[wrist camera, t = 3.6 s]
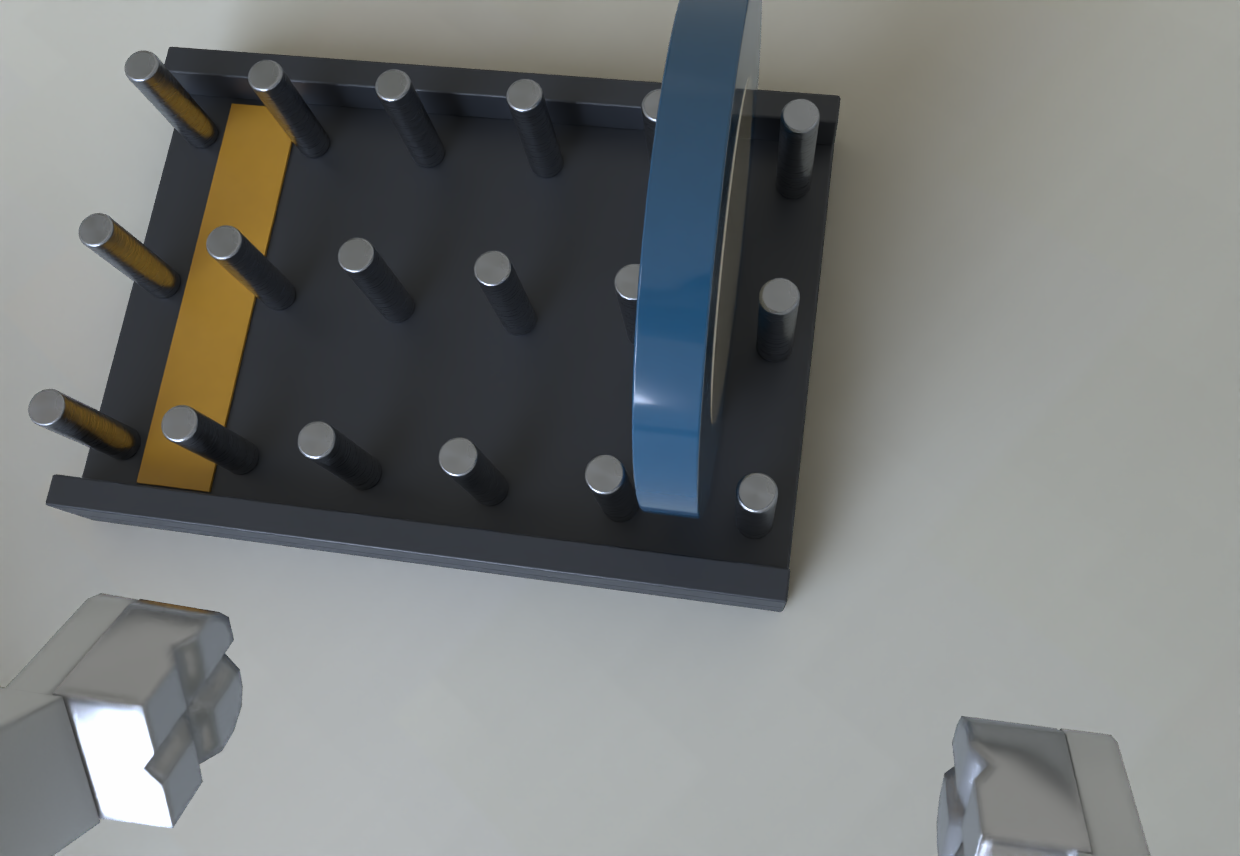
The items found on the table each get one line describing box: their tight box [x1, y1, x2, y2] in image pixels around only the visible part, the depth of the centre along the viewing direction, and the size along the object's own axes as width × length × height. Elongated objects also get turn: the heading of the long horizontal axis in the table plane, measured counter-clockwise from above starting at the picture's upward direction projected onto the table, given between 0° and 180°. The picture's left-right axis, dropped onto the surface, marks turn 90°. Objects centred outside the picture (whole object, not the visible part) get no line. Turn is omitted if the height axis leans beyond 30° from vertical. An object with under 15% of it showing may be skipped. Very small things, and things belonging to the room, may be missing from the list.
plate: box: [632, 0, 762, 519], centre depth 23 cm, size 11×1×11 cm, turn 172°
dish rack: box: [28, 47, 840, 612], centre depth 28 cm, size 13×18×4 cm
